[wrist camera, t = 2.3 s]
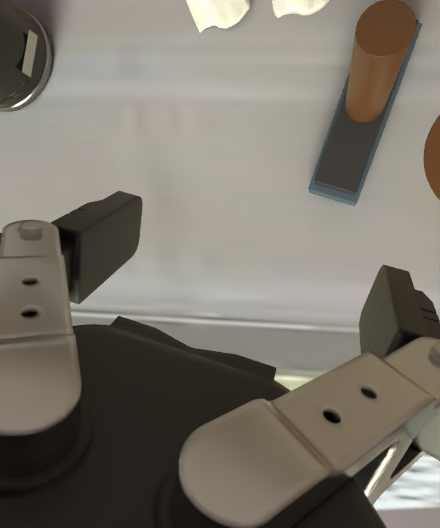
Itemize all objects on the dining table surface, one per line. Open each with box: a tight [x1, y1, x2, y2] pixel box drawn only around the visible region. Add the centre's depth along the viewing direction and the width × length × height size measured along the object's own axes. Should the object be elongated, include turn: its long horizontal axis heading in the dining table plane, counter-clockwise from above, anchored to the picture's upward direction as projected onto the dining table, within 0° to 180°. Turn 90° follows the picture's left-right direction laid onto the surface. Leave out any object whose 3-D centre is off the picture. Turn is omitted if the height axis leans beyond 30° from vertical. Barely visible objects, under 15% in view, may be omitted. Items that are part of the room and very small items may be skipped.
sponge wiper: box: [309, 0, 422, 206], centre depth 25 cm, size 4×13×13 cm, turn 161°
